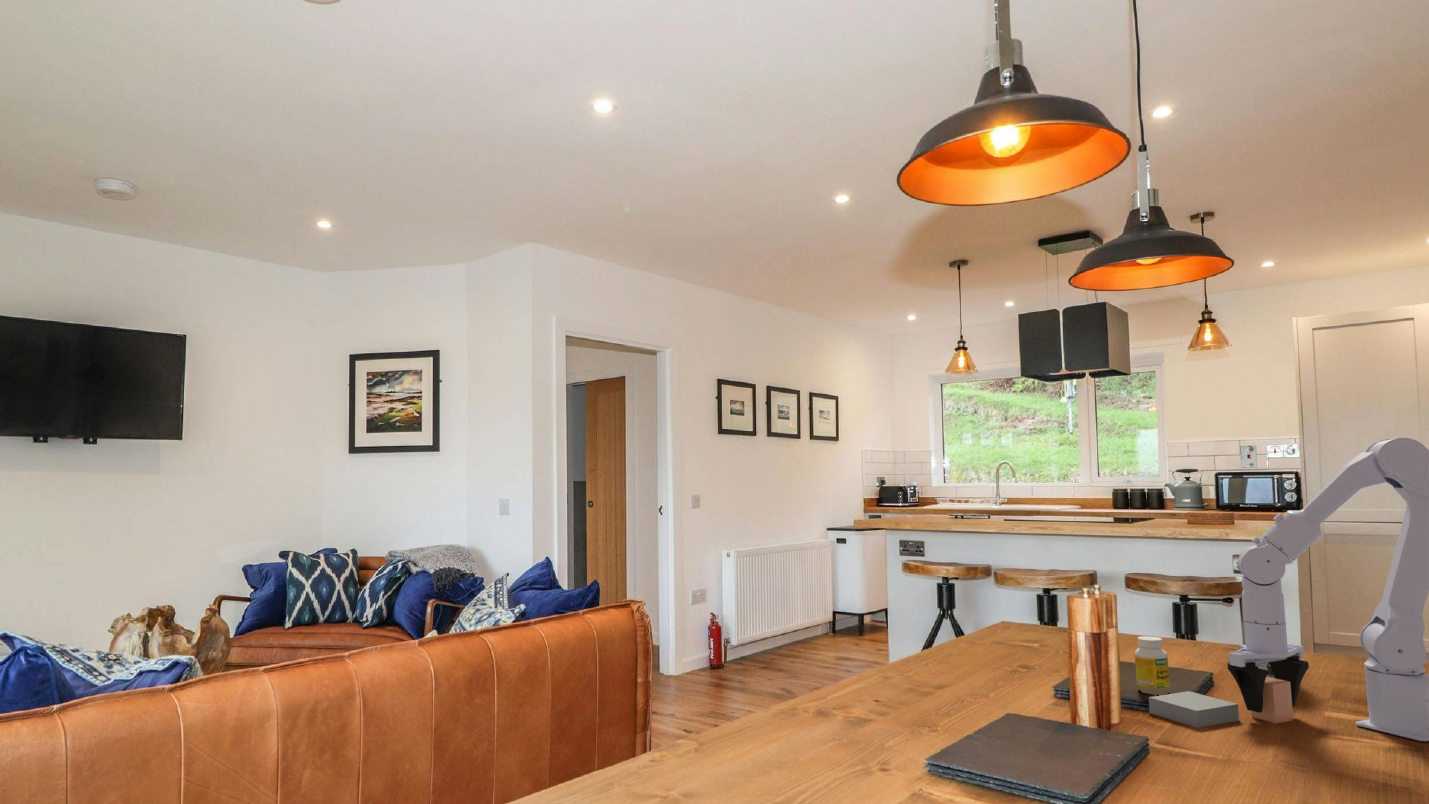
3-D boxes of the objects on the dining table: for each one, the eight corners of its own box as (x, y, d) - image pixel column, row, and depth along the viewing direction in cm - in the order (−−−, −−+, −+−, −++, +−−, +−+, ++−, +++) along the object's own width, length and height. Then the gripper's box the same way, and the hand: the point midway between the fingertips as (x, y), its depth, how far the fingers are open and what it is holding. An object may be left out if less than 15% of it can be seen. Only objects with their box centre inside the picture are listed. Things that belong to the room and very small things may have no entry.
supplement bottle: (1147, 687, 157) (1143, 634, 158) (1176, 692, 152) (1172, 638, 153) (1131, 691, 154) (1127, 637, 155) (1160, 697, 149) (1156, 642, 150)
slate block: (1239, 723, 135) (1238, 704, 135) (1198, 730, 132) (1196, 710, 132) (1189, 709, 143) (1188, 691, 144) (1149, 715, 140) (1148, 697, 140)
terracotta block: (1293, 720, 134) (1290, 681, 135) (1275, 723, 133) (1272, 684, 134) (1269, 714, 138) (1266, 676, 139) (1251, 717, 137) (1248, 679, 137)
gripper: (1271, 614, 143) (1278, 696, 142) (1209, 621, 138) (1215, 707, 137) (1314, 620, 137) (1321, 707, 136) (1250, 628, 131) (1257, 718, 130)
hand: (1271, 708), depth 136 cm, fingers open, 7 cm apart
